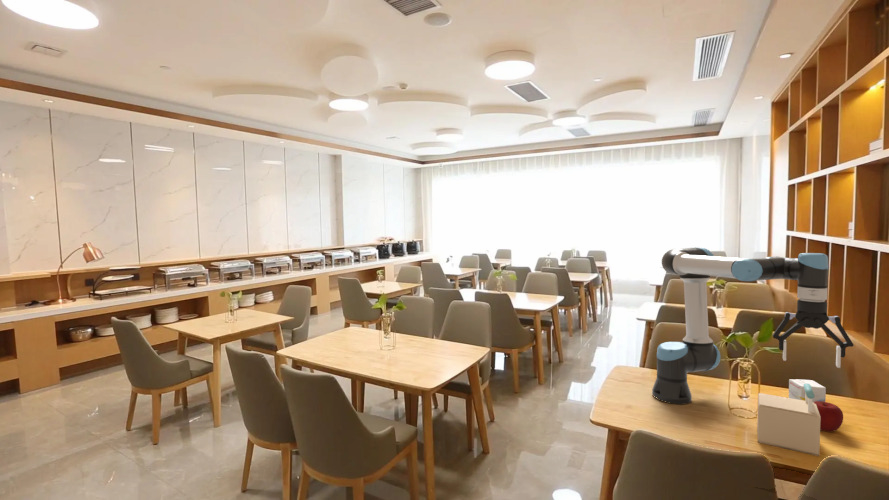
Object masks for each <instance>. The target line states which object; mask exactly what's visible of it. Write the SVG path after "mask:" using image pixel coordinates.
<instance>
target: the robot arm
mask: <svg viewBox="0 0 889 500" xmlns="http://www.w3.org/2000/svg"><path fill="white" fill-rule="evenodd" d="M797 257H798V258H797ZM797 257H795V258H793V257H783V256H767V257H763V258H748V257H747V258H745V257H741V258H740V257H728V256H716V255H714V254H713V253H712V252H711V251H710V250H709V249H707V248H705V247H704V248H703V247H685V248H672V249H670V250H669V249H668V250H667V251H666V252H665V253H664V254H663V256H662V258H661V266H662V269H663V270H664V271H665V272H667V274H670V275H674V276H679V279H680V280H681V281H682V282H683V292H684V295H683V296H684V313H685V315H684V317H685V318H684V319H685V336H684V337H683V338H682V341H665V342H662V343H660V344H658V346H657V349H656V351H657V352H656V379H655V382H654V384H653V386H652V388H651V391H652V393H651V395H652V394H653V395H654V396H655V397H657V398H658V399H660V400H663V401H666V402H665V403H667V402H670V403H669V404H672V403H675V404H674V405H686V404H690V403H691V402H692V401H693V400H692V393H691V389H690V387H689V384H688V374H689V373H695V372H708V371H711V370H714V369H715V368H717V367H718V366H719V364H720V362H721V352H720V350H719V348H718V346H717V345H715V344H714V340H713V339H712V338H711V337H710V336H709V335H710V334H709V315H708V292H707V287H708V286H707V282H708V281H709V280H710V279H711V277H720V278H730V279H736V280H738V281H740V282H754V281H767V280H769V281H770V280H792V281H797V292H796V294H797V298H798V299H797V303H796V313H793V312H789V311H785V312H784V316H783V319H782V321H781V322H780V324H779V325H778V326H777V328H776V329H775V331H774V332H773V333H772V338H773V339H775V340H777V341H778V349H779V351H782V361H785V362H786V361H787V338H789V337H790V336H791V335H792V334H794V333H795V332H797V331H798V330H799V329H801V328H802V327H804V328H807V329H809V328H812V329H820V328H821V329H822V330H823V331H825V332H826V333H827V334H828V336H829V337H830V338H832V340H834V342H836V343H837V344H838V345H836V347H835V350H836V351H835V366H836V368H838V369H841V362H842V361H841V360H842V358H845V357H846V349H847V348H850V347H851V348H853V347H854V343H853V341H852V340H851V338H850V336H849V334H848V333H847V332H846V330H845V328H844V326H843V325H842V324H841V318H840V316H839V315H833V316H829V315H828V302H827V300H828V277H829V268H830V267H829V256H828V255H827V254H825V253H820V252H818V253H817V252H816V253H815V252H802V253H799V254H798V256H797ZM793 318H795V319H796V320H797V321H796V323H794V324H793V325H792V326H791V327H790V328H789V329H787V330H786V331H784V332H783V330H784V328H785V327H786V326H787V324H789V321H790V320H793ZM829 321H830V322H831V323H832V324H835V326H836V328H837V329H838V331H839V332H840V334H841V335H842V338H843V339H844V340H845V342H843V341H842V340H841V339H840V338H839V337H838V336H837V335H836V334H835V333H834V332H833V331H832V330H831V329H830V328H829V327H828V326H827V325H826V324H827V323H828V322H829ZM782 332H783V333H782ZM781 333H782V334H781ZM653 395H652V396H653ZM655 397H654V398H655ZM658 399H657V400H658ZM660 400H659V401H660ZM663 401H662V402H663Z"/></svg>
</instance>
